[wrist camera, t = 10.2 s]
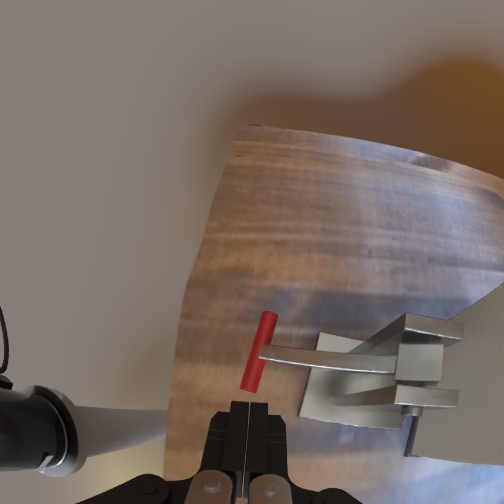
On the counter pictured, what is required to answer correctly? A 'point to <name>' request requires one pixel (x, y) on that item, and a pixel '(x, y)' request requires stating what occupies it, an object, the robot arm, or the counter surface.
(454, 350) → the toaster
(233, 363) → the counter surface
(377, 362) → the switch lever
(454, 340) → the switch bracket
